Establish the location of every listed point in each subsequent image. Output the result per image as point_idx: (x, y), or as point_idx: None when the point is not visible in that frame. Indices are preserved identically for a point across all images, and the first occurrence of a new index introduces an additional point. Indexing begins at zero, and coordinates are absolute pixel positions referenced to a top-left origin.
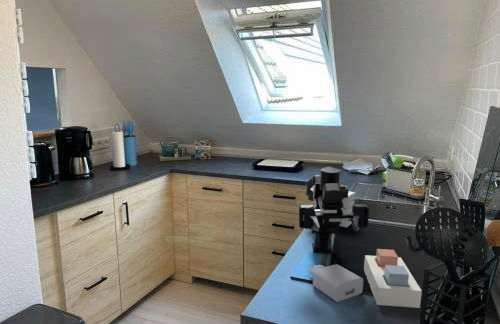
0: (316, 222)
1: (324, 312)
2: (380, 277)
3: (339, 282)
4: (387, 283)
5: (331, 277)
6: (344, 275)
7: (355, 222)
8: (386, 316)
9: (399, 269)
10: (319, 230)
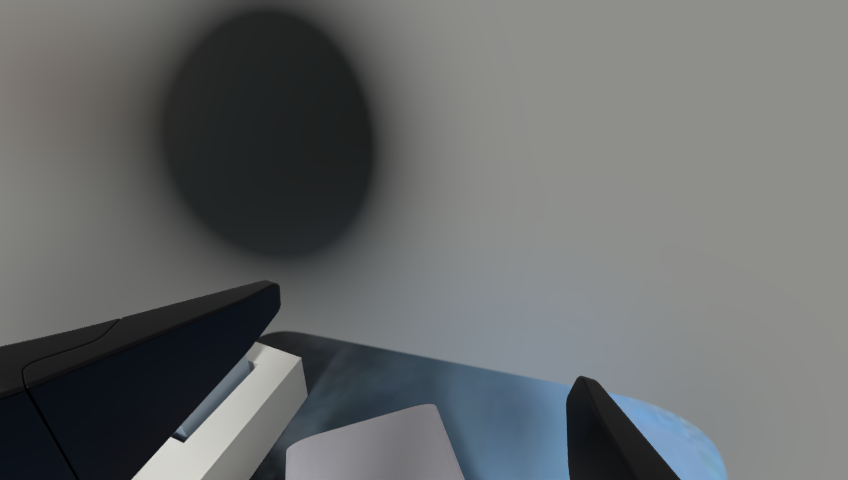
0: (654, 468)
1: (481, 395)
2: (218, 420)
3: (416, 419)
4: (240, 378)
5: (432, 472)
6: (361, 478)
7: (202, 307)
8: (328, 348)
9: None
10: (576, 388)
